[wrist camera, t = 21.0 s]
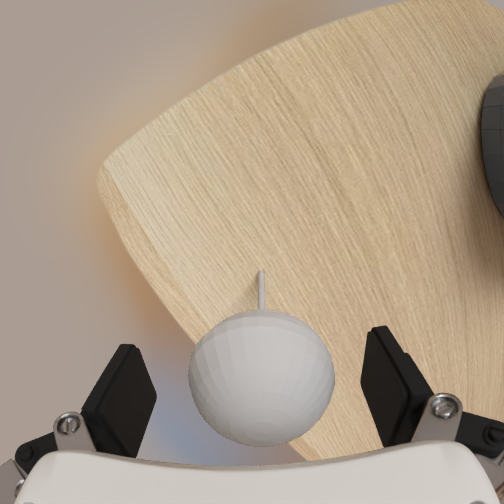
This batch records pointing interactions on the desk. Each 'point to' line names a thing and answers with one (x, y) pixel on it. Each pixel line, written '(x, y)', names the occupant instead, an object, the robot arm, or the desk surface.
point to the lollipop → (261, 376)
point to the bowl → (494, 139)
